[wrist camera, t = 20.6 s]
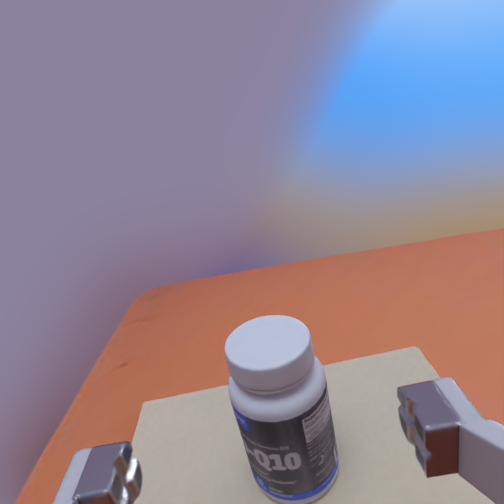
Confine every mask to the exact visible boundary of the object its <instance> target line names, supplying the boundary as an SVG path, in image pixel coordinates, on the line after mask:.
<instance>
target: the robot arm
mask: <svg viewBox="0 0 504 504" xmlns="http://www.w3.org/2000/svg"><path fill="white" fill-rule="evenodd" d="M397 398H398V399H399V401H400V403H401V405H400V406H399V408H398V413H399V420H400V423H401V427H402V430H403V432H404V435H405V437H406V439H407V441H408V442H409V443H410V444H412V445H413V446H415V456H416V458H417V460H418V462H419V464H420V466H421V468H422V470H423V472H424V473H425V475H426V477H427V478H430V477H436V476H443V475H449V474H455V473H458V475H459V476H461V477H462V478H463V479H465V480H466V481H467V482H468V483H470V484H471V485H472V486H474V487H475V488H476V489H477V490H479V491H480V492H481V493H483V494H484V495H485V496H486V497H488V498H489V499H490V500H492V501H493V502H494V503H495V504H504V426H503V425H501V424H499V423H497V422H495V421H493V420H492V419H486V420H485V419H484V418H483V417H482V416H481V414H480V413H479V412H478V411H477V409H476V408H475V407H474V405H473V404H472V403H471V402H470V400H469V399H468V398H467V397H466V395H465V394H464V393H463V392H462V390H461V389H460V388H459V387H458V385H457V384H456V383H455V382H454V380H453V379H452V378H450V377H444V378H439V379H434V380H431V381H430V380H429V381H424V382H419V383H415V384H410V385H405V386H400V387H398V388H397ZM132 452H133V448H132V446H131V444H130V442H127V441H125V442H119V443H113V444H107V445H102V446H96V447H92V448H86V449H80V450H78V451H77V452H76V453H75V454H74V455H73V458H72V460H71V462H70V465H69V467H68V469H67V471H66V474H65V476H64V478H63V481H62V483H61V485H60V487H59V490H58V492H57V494H56V497H55V499H54V501H53V504H134V501H135V500H136V499H137V498H138V496H139V495H140V493H141V488H142V469H141V465H140V463H139V460H138V459H136V458H134V457H133V456H132Z"/></svg>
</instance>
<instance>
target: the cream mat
mask: <svg viewBox="0 0 504 504" xmlns="http://www.w3.org/2000/svg"><path fill="white" fill-rule="evenodd" d="M322 366H323V369H324V371H325V375H326V381H327V388H328V394H329V401H330V407H331V414H332V420H333V426H334V432H335V438H336V444H337V450H338V456H339V467H338V473H337V475H336V478H335V480H334V482H333V484H332V485H331V487H330V488H329V489H328V490H327V491H326V492H325V493H324V494H323V495H322V496H321V497H319V498H318V499H316V500H314V501H312V502H309V503H306V504H495V503H494V502H493V501H492V500H490V499H489V498H488V497H486V496H485V495H484V494H483V493H481V492H480V491H479V490H477V489H476V488H475V487H474V486H472V485H471V484H470V483H468V482H467V481H466V480H465V479H463V478H462V477H461V476H459V475H458V473H455V474H449V475H443V476H436V477H430V478H427V477H426V475H425V473H424V472H423V470H422V468H421V466H420V464H419V462H418V460H417V458H416V456H415V446H413V445H412V444H410V443H409V442H408V441H407V439H406V437H405V435H404V432H403V430H402V427H401V423H400V420H399V413H398V408H399V406H400V405H401V403H400V401H399V399H398V398H397V388H398V387H400V386H405V385H410V384H415V383H419V382H424V381H429V380H430V381H431V380H434V379H439V378H440V377H439V375H438V374H437V373H436V371H435V370H434V368H433V367H432V366H431V364H430V363H429V362H428V360H427V359H426V358H425V356H424V355H423V354H422V352H421V351H420V350H419V348H418V347H417V346H414V347H409V348H404V349H399V350H394V351H390V352H385V353H380V354H375V355H370V356H365V357H361V358H356V359H351V360H346V361H341V362H336V363H332V364H327V365H322ZM131 446H132V448H133V452H132V456H133V457H134V458H136V459H138V460H139V463H140V465H141V469H142V488H141V493H140V495H139V496H138V498H137V499H136V500H135V501H134V504H283V503H280V502H278V501H275V500H273V499H272V498H270V497H269V496H267V495H266V494H265V493H264V492H263V491H262V490H261V489H260V487H259V486H258V485H257V483H256V481H255V478H254V476H253V473H252V470H251V467H250V463H249V460H248V456H247V453H246V450H245V447H244V444H243V440H242V437H241V433H240V430H239V427H238V423H237V420H236V417H235V414H234V411H233V407H232V404H231V401H230V397H229V391H228V385H225V386H220V387H215V388H210V389H206V390H201V391H196V392H191V393H186V394H181V395H177V396H172V397H167V398H162V399H157V400H152V401H148V402H143V405H142V409H141V412H140V416H139V420H138V423H137V427H136V430H135V434H134V437H133V441H132V444H131Z"/></svg>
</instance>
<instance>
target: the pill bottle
mask: <svg viewBox="0 0 504 504" xmlns="http://www.w3.org/2000/svg"><path fill="white" fill-rule="evenodd" d="M225 356H226V359H227V364H228V369H229V372H230V378H229V383H228V391H229V397H230V401H231V404H232V407H233V411H234V414H235V417H236V420H237V423H238V427H239V430H240V433H241V437H242V440H243V444H244V447H245V450H246V453H247V456H248V460H249V463H250V467H251V470H252V473H253V476H254V478H255V481H256V483H257V485H258V486H259V487H260V489H261V490H262V491H263V492H264V493H265V494H266V495H267V496H269V497H270V498H272V499H273V500H275V501H278V502H280V503H283V504H306V503H309V502H312V501H314V500H316V499H318V498H319V497H321V496H322V495H323V494H324V493H325V492H326V491H327V490H328V489H329V488H330V487H331V485H332V484H333V482H334V480H335V478H336V475H337V473H338V467H339V456H338V450H337V444H336V438H335V432H334V426H333V420H332V414H331V407H330V401H329V394H328V388H327V381H326V375H325V371H324V369H323V366H322V364H321V363H320V361H319V360H318V358H317V357H316V356H315V355H314V350H313V345H312V341H311V335H310V332H309V330H308V328H307V327H306V326H305V324H304V323H302V322H301V321H299V320H297V319H295V318H292V317H289V316H283V315H269V316H263V317H258V318H255V319H252V320H250V321H248V322H246V323H244V324H242V325H240V326H239V327H237V328H236V329H235V330H234V331H233V332H232V333H231V334H230V335H229V337H228V339H227V341H226V344H225Z"/></svg>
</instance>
